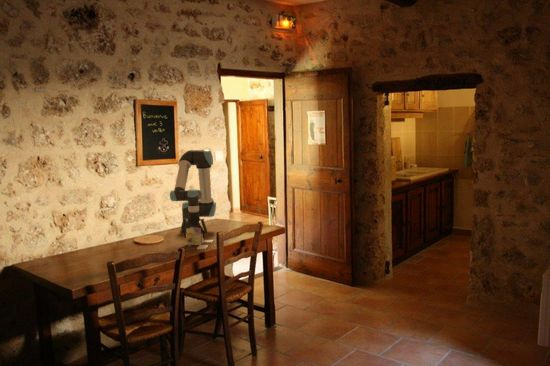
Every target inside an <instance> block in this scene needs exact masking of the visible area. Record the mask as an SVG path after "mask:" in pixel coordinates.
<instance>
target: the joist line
mask: <svg viewBox="0 0 550 366" xmlns="http://www.w3.org/2000/svg"><path fill="white" fill-rule="evenodd" d="M213 242H214V239H204V242H203V244H202V245H198V246H197V248H196V250H207V249H208V247H209V244H213ZM206 248H207V249H206Z"/></svg>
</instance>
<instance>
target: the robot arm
mask: <svg viewBox="0 0 550 366" xmlns="http://www.w3.org/2000/svg"><path fill="white" fill-rule="evenodd" d="M213 156H214V155H213V154H212V150H210V149H190V150H187V151H185V152H184V153H183V154H182V155H181V157H180V158H179V160H178V163H177V165H178V169H177V170H178V172H177V175H176V180H175V184H174V190H171V191H170V192H169V199H170V200H171V201H172V202H182V205H181V212H182V213H181V215H182V222H181V225H180V232H181V233H183V234H184V238H185V241H186V242H185V243H186V244H187V235H186V229H187V228H190V227H199V228H201V232H202V234H201V237H202V243H203V242H204V241H205V239H204V238H206V235H205V234H207V233H208V228H207V226H206V223H205V218H209V217H210V218H212V217H215V214H216V209H217V202H216V201H214V199H213V197H212V186H211V171H210V170H211V168H212V165H214V158H213ZM192 166H195V168H196V169H197V170H198V182H199V183H198V185H199V189H197V188H191V189H187V190H186V186H187V183H188V182H187V180H188V177H189V171H190V168H191V167H192ZM202 227H203V228H202ZM203 244H204V243H203Z"/></svg>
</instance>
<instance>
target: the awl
mask: <svg viewBox="0 0 550 366" xmlns="http://www.w3.org/2000/svg"><path fill="white" fill-rule="evenodd" d="M187 241H188V245H187V247H188V248H192V247H193V245H192V242H191V241H192V234H191V233H188V234H187Z"/></svg>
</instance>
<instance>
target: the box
mask: <svg viewBox="0 0 550 366" xmlns="http://www.w3.org/2000/svg"><path fill="white" fill-rule="evenodd" d="M201 227H202V228H203V226H201ZM203 229H204V228H203ZM188 233H191V234H192V241H191V242H192V246H200V245H204V243H202V237H201V234H202V232H201V228H199V227H190V228H187V229H186V235H187V234H188ZM186 246H188V241H187V243H186Z"/></svg>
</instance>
